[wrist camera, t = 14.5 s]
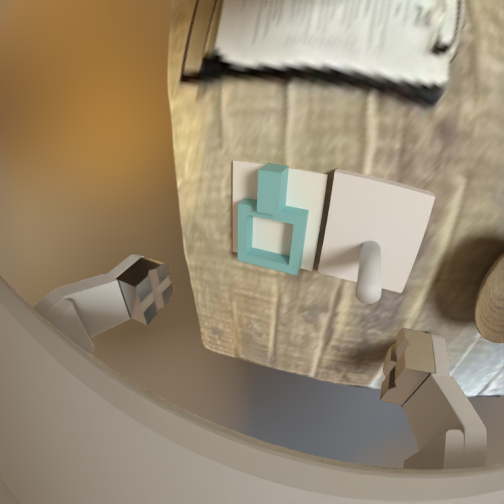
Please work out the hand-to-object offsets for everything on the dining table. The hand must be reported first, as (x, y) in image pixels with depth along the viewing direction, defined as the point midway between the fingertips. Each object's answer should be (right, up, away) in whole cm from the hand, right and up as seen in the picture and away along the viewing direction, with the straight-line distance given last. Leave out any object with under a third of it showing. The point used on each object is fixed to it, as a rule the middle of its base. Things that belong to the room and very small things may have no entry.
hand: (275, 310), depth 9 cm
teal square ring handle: (+3, +7, +33) cm, 34 cm away
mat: (+3, +7, +34) cm, 34 cm away
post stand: (+17, +5, +29) cm, 34 cm away
